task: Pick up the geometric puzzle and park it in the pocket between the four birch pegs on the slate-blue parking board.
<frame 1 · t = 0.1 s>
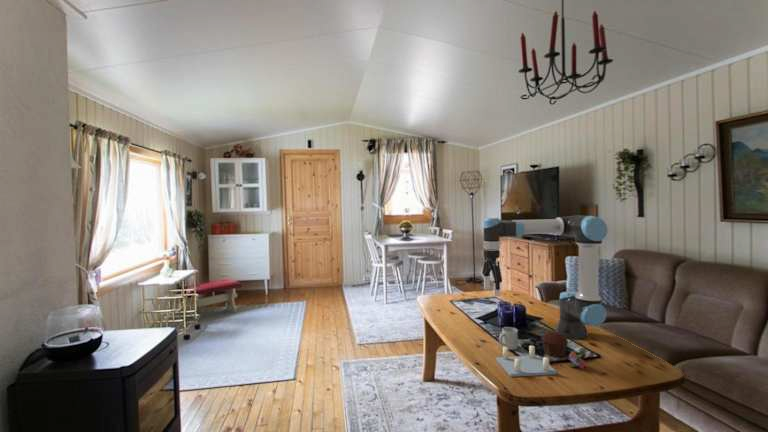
hand: (491, 292, 178), 28 cm above the table, fingers open, 13 cm apart
muffin: (554, 353, 172), on the table
geometric puzzle: (577, 368, 157), on the table
peg board: (525, 366, 159), on the table
cup: (507, 347, 180), on the table
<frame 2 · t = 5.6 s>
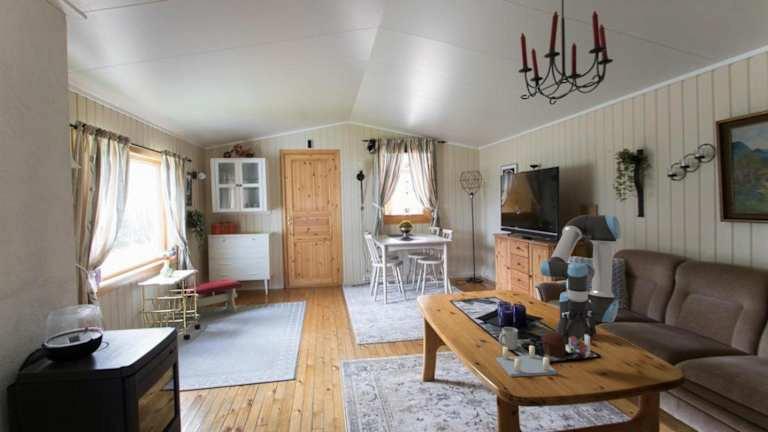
hand: (577, 350, 157), 7 cm above the table, fingers closed on geometric puzzle, 8 cm apart
geometric puzzle: (577, 351, 157), point 7 cm above the table, touching gripper
everything else where it was.
when the fingers open (2 cm above the table, at t = 10.0 s): geometric puzzle stays where it is, resting on peg board.
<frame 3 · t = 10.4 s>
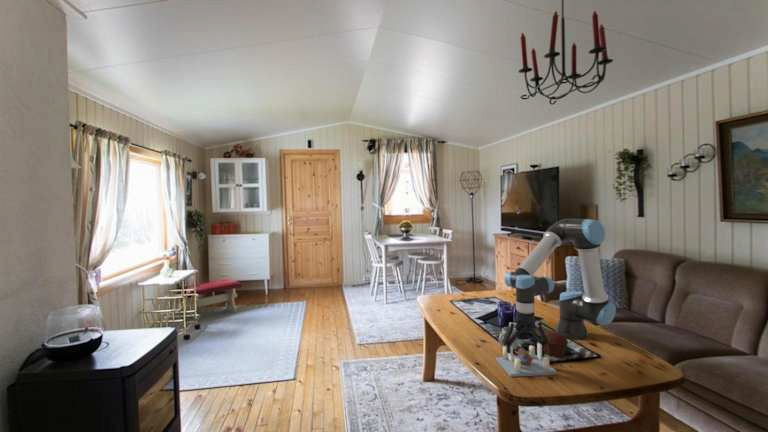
hand: (525, 359, 158), 3 cm above the table, fingers open, 12 cm apart
geometric puzzle: (525, 364, 158), point 1 cm above the table, touching peg board
everything else where it was.
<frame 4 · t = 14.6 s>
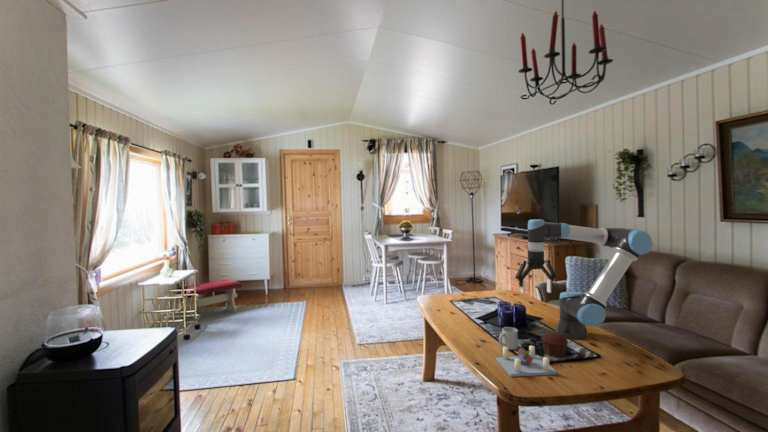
hand: (535, 292, 181), 27 cm above the table, fingers open, 13 cm apart
nothing on the table moved.
at the end: geometric puzzle inside the target area on the peg board (0.1 cm from its centre), point 1.0 cm above the peg board's base; geometric puzzle tilted 0°; the gripper is holding nothing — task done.
